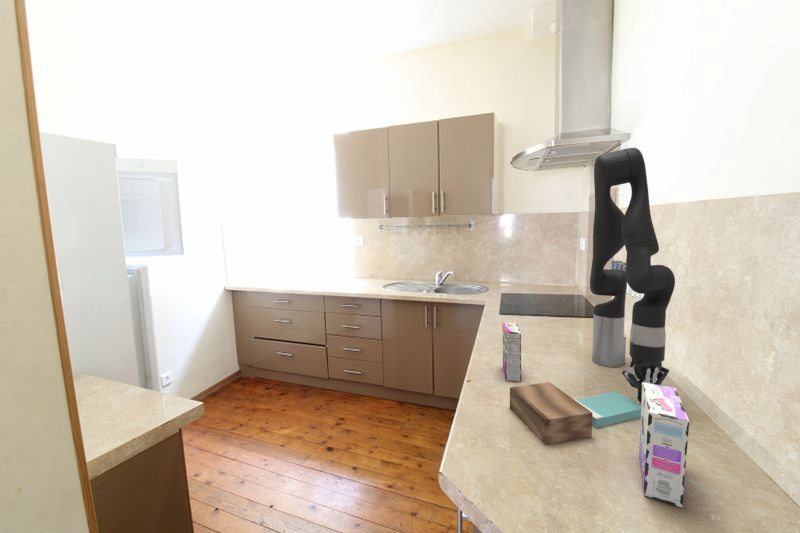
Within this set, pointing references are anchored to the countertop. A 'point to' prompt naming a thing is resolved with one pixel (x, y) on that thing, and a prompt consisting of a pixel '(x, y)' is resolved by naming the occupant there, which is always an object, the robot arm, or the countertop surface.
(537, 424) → the wood block
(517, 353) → the candy bar box
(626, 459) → the countertop surface
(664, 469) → the candy box
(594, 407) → the thin teal board
